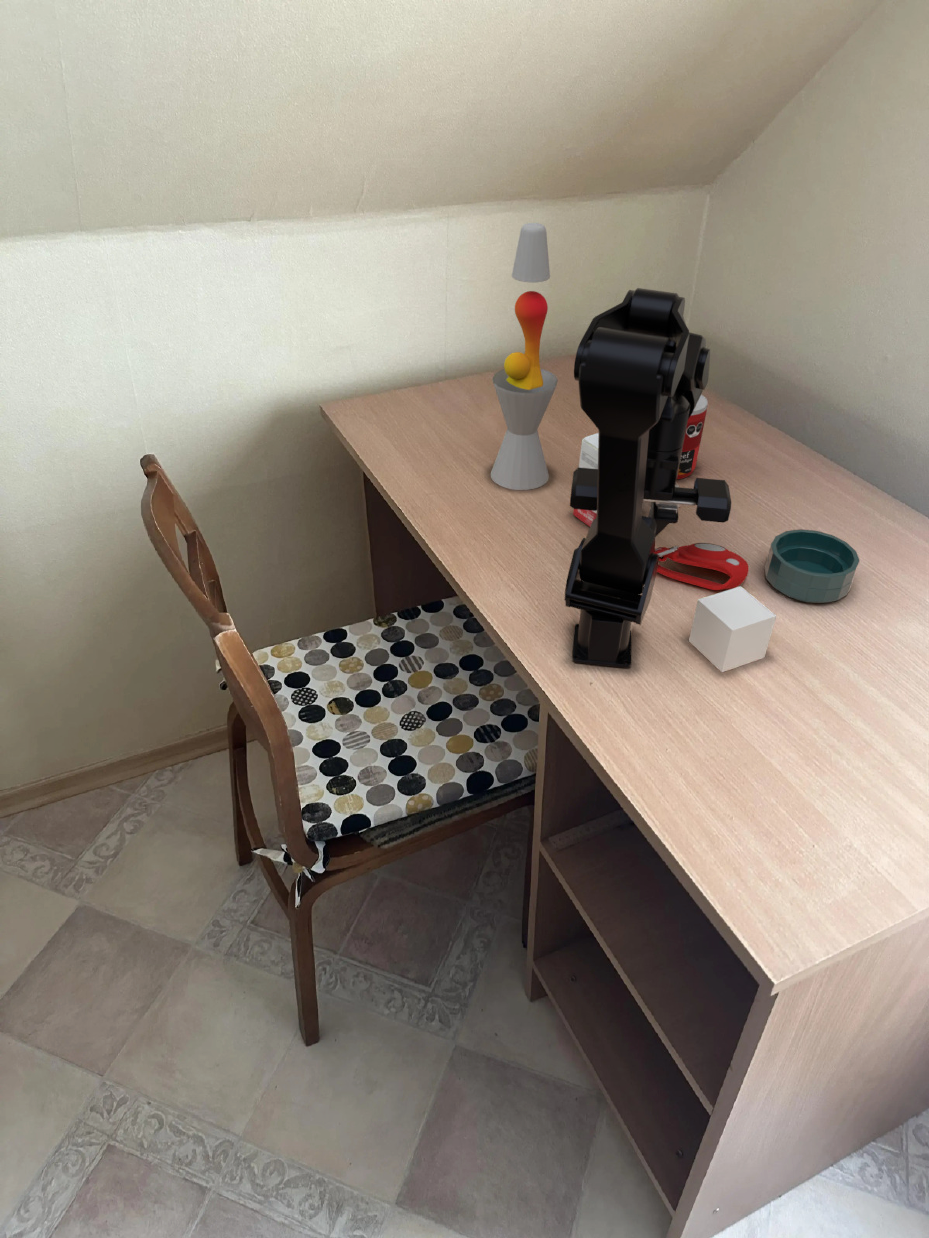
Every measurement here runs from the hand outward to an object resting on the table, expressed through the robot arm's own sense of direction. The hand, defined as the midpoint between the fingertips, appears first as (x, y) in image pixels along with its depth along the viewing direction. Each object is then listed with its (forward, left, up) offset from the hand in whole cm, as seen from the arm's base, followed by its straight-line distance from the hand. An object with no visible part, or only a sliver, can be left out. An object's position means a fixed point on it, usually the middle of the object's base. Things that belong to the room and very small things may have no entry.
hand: (639, 552), depth 113 cm
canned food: (+27, -5, -2) cm, 28 cm away
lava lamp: (+21, +17, -2) cm, 27 cm away
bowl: (0, -21, -2) cm, 21 cm away
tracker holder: (0, -7, -2) cm, 7 cm away
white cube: (-15, -10, -2) cm, 18 cm away
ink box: (+12, +4, -2) cm, 13 cm away
